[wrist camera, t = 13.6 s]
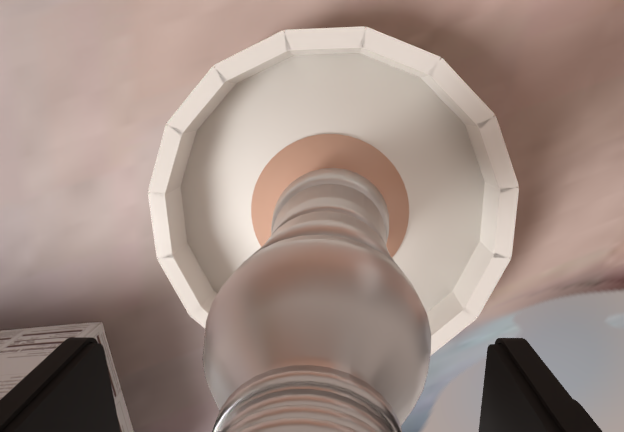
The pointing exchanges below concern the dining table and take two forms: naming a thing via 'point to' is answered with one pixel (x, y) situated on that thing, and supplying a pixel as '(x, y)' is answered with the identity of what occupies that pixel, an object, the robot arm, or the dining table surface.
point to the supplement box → (42, 342)
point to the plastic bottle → (319, 319)
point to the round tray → (337, 164)
